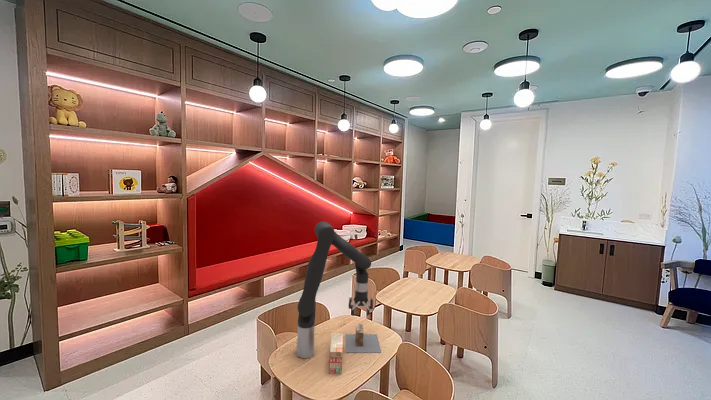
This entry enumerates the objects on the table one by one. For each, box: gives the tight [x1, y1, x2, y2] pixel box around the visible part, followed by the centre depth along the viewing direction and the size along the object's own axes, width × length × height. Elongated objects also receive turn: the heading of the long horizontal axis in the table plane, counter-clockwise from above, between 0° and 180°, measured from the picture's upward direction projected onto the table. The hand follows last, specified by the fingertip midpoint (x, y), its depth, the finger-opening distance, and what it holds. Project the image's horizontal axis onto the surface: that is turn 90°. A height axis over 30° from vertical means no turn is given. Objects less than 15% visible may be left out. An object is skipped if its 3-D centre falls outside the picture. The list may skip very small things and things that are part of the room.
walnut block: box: [355, 323, 365, 346], centre depth 173 cm, size 4×7×10 cm, turn 4°
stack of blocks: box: [328, 332, 344, 375], centre depth 157 cm, size 21×6×12 cm, turn 2°
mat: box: [344, 333, 382, 354], centre depth 173 cm, size 20×18×1 cm
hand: (360, 315), depth 171 cm, fingers open, 8 cm apart
